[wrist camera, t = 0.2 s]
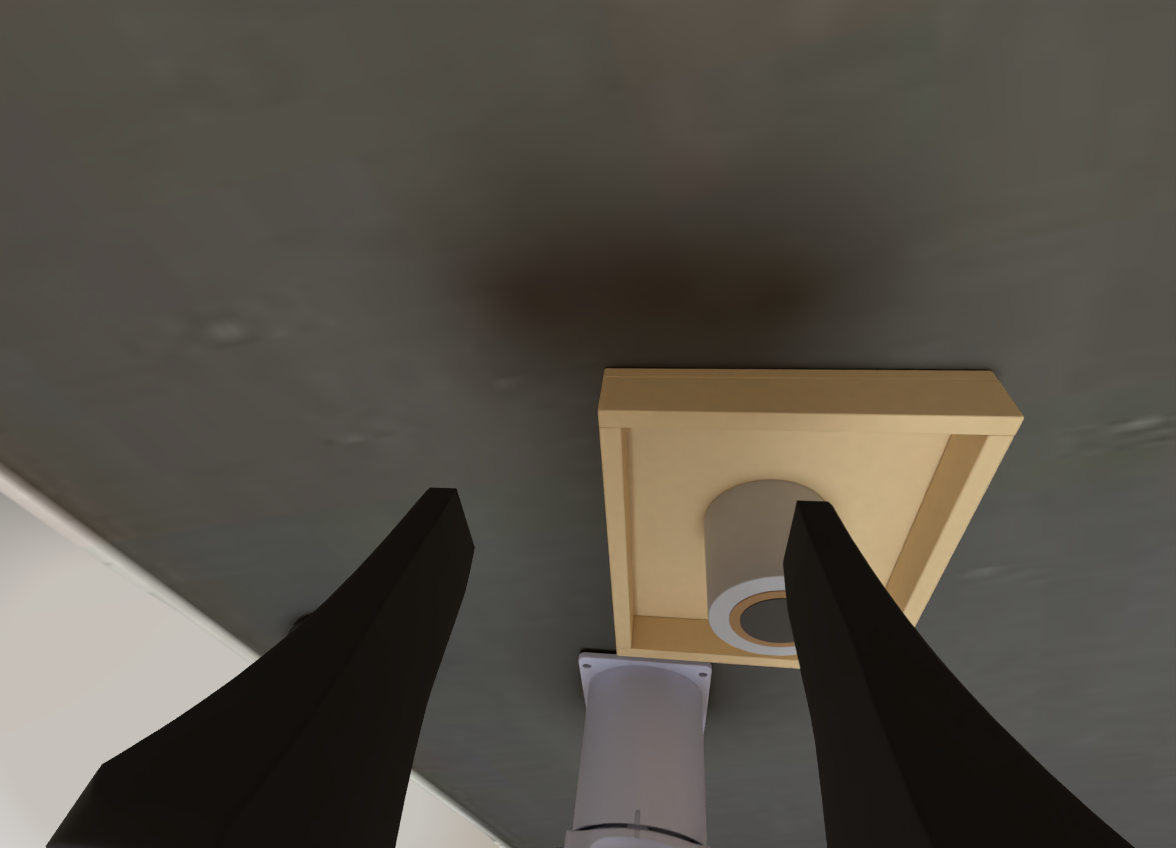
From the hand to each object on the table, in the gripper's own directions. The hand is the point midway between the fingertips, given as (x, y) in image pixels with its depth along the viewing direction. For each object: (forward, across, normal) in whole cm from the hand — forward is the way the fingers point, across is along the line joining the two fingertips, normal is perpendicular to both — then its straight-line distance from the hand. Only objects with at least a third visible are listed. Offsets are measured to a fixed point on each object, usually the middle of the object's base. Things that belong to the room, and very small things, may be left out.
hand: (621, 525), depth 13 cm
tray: (+10, -5, +11) cm, 16 cm away
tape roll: (+10, -5, +11) cm, 15 cm away
